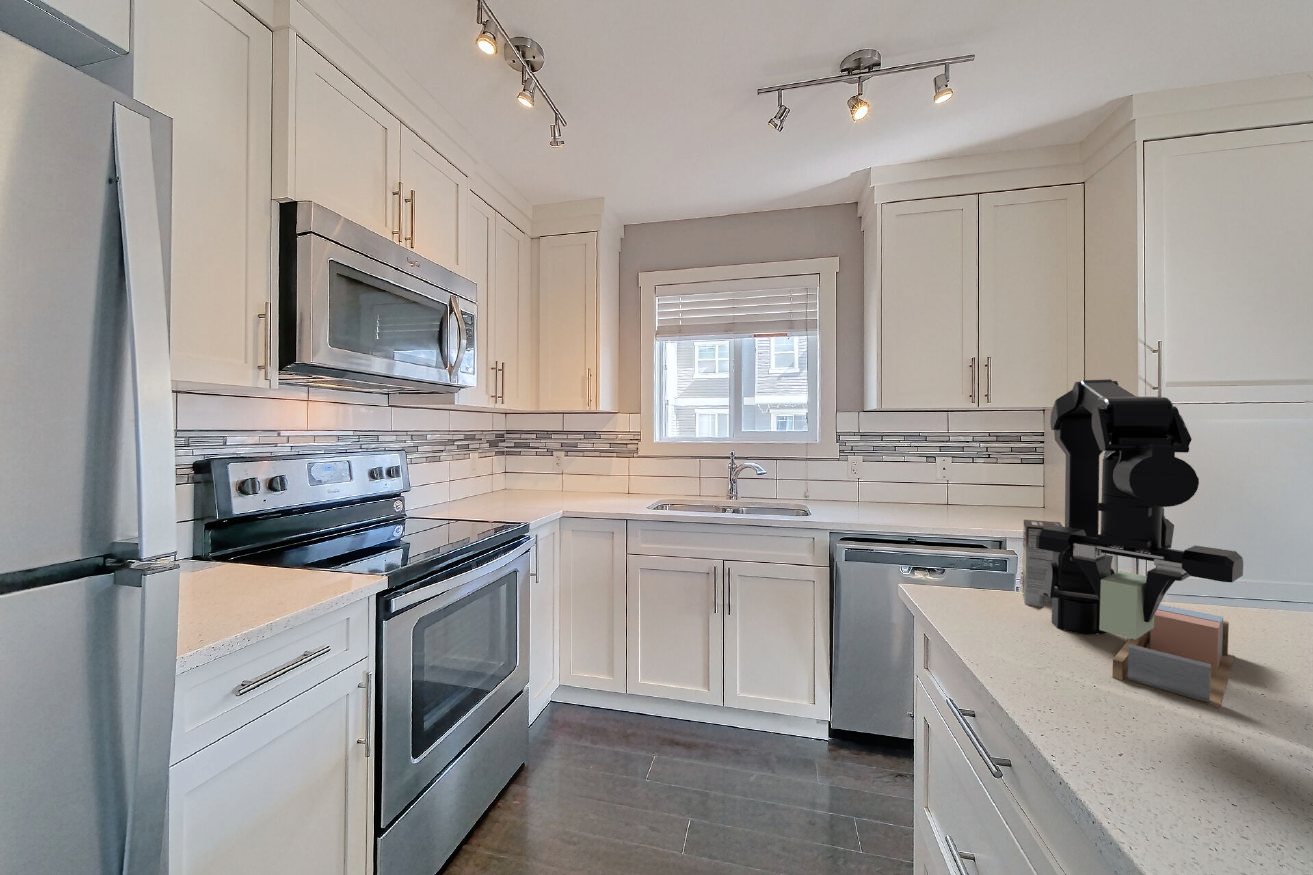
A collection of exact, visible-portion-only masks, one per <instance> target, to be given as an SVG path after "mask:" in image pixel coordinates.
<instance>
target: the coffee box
mask: <svg viewBox="0 0 1313 875" xmlns="http://www.w3.org/2000/svg"><path fill="white" fill-rule="evenodd" d="M1051 526H1062V527H1064V526H1063V524H1062V523H1061V522H1060V521H1046V520H1038V519H1037V520H1036V519H1035V520H1034V519H1033V520H1032V519H1023V531H1022V532H1023V534H1022V535H1023V536H1022V537H1023V538H1022V539H1023V540H1022V579H1021V580H1022V582H1021V583H1022V584H1021V585H1022V588H1021V590H1022V591H1021V592H1022V596H1023V601H1024V604H1025V605H1027V606H1034V607H1038V608H1039V607H1040V608H1045V607H1046V606H1047V605H1048V606H1049V604H1051V605H1052V598H1050V597H1049V596H1048V594H1047V593H1046V591H1045V575H1046V572H1047V569H1048V566H1049V563H1050V562H1053V551H1048V550H1042V549H1038V548H1036V536H1037V534H1038V532H1039V531H1040V530H1041V529H1043V528H1047V527H1051ZM1055 588H1057V587H1056V586H1055ZM1023 593H1024V594H1023Z"/></svg>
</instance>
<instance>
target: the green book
mask: <svg viewBox="0 0 1313 875" xmlns="http://www.w3.org/2000/svg"><path fill="white" fill-rule="evenodd" d="M1146 579H1147V575H1143V574H1138V573H1137V574H1136V573H1132V572H1131V573H1130V572H1126V571H1123V570H1122V571H1118V572H1115V574H1113V575H1110V576H1108V577H1106V578H1103V579H1101V592H1100V626H1099V630H1102V631H1105V632H1106V633H1109V634H1113V635H1117V636H1121V637H1125V638H1127V639H1130V638H1131V639H1135V640H1136V639H1137V638H1139V637H1141V636H1142V635H1144V634H1145V633H1147V632H1148V631H1150V630H1151V629H1153V628H1154V616H1153V618H1152V620H1151V621H1150V622H1149V623H1147V622H1144V614H1143V608H1144V598H1145V589H1146Z"/></svg>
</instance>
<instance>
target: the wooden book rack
mask: <svg viewBox="0 0 1313 875" xmlns="http://www.w3.org/2000/svg"><path fill="white" fill-rule="evenodd" d="M1229 622H1230V621H1227V620H1223V640H1222V657H1221V660H1220V663H1219V666H1218V669H1217V670H1216V669H1212V668H1211V689H1210V701H1209V703H1206V702H1203V701H1199V700H1196V699H1193V698H1189V697H1186V696H1182V695H1179V694H1175V693H1172V692H1168V691H1165V690H1162V689H1158V688H1155V687H1151V686H1148V685H1144V684H1141V683H1137V682H1134V681H1131V680H1128V649H1129V646H1130V645H1131V644H1132V645H1136V646H1140V647H1144V648H1148V649H1150V637H1151V630H1150V631H1148V632H1147V633H1145V634H1144V635H1142V636H1141V637H1139V638H1137V639H1136V640H1135V639H1131V638H1128V640H1127V642H1125V644H1124V645H1123V647H1121V649H1120V650H1119V651H1118V652H1117V654H1116V655H1115V656H1114V657H1113V658H1112V679H1115V680H1119V681H1123V682H1126V683H1129V684H1134V685H1136V686H1140V687H1143V688H1146V689H1150V690H1153V691H1158V692H1161V693H1163V694H1168V695H1171V696H1174V697H1177V698H1180V699H1183V700H1186V701H1187V700H1188V701H1191V702H1195V703H1198V704H1201V705H1204V706H1207V707H1212V708H1215V709H1220V707H1221V703H1222V701H1223V696H1224V694H1225V691H1226V687H1227V685H1228V684H1227V683H1228V680H1229V676H1230V673H1231V670H1232V666H1233V664H1234V663H1233V662H1234V659H1235V655H1233V654H1229V629H1230V628H1229V627H1230V626H1229V625H1230V624H1229Z"/></svg>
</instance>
